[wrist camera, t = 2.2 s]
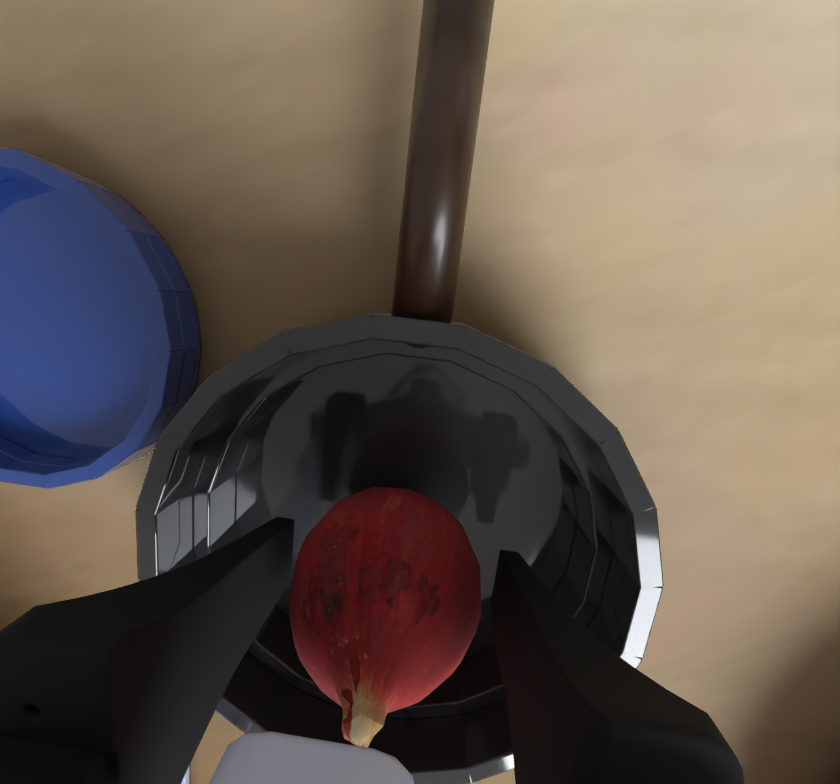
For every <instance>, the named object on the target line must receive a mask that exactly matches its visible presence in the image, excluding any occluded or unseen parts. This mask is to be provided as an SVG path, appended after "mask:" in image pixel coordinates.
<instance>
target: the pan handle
mask: <svg viewBox="0 0 840 784" xmlns="http://www.w3.org/2000/svg"><path fill="white" fill-rule="evenodd" d="M493 7H494V0H423V9H422V19H421V29H420V39H419V49H418V58H417V68H416V78H415V88H414V98H413V107H412V117H411V127H410V137H409V147H408V156H407V166H406V176H405V186H404V196H403V205H402V215H401V225H400V235H399V244H398V254H397V264H396V274H395V284H394V293H393V303H392V313H391V315H395V316H402V317H409V318H417V319H425V320H434V321H444V322H451V320H452V313H453V305H454V298H455V290H456V283H457V275H458V268H459V260H460V253H461V246H462V238H463V231H464V223H465V216H466V208H467V201H468V193H469V186H470V179H471V171H472V164H473V156H474V149H475V141H476V134H477V127H478V119H479V112H480V104H481V97H482V89H483V82H484V74H485V67H486V60H487V52H488V45H489V37H490V30H491V22H492V15H493ZM405 344H406V345H408V346H411V347H413V348H421V349H423V348H429V347H431V346H423V345H415V344H407V343H405Z"/></svg>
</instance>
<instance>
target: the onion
mask: <svg viewBox="0 0 840 784" xmlns="http://www.w3.org/2000/svg"><path fill="white" fill-rule="evenodd" d="M288 604H289V617H290V623H291V628H292V634H293V639H294V644H295V648H296V651H297V654H298V657H299V659H300V661H301V663H302V664H303V666H304V668H305V669H306V671H307V672H308V674H309V675H310V676H311V678H312V679H313V680H314V682H315V683H316V685H317V686H318V687H319V689H320V690H321V691H322V692H323V693H324V694H325V695H327V696H328V697H329V698H331V699H332V700H334V701H335V702H336V703H338V704H339V705H340V706H342V709H343V720H342V732H343V736H344V739H346V740H348V741H350V742H351V743H353V744H354V745H356V746H360V747H366V748H368V746H369V744H370V742H371V740H372V739H373V737H374V736H375V734H376V733H377V732H378V731H379V730H380V729H381V728H382V727H383V726H384V721H385V717H386V715H387V713H390V712H393V711H396V710H399V709H402V708H405V707H408V706H411V705H413V704H415V703H418V702H420V701H421V700H422V699H424V698H425V697H426V696H428V695H429V694H430V693H431V692H432V691H433V690H434V689H436V688H437V687H438V686H439V685H440V684H441V683H442V682H444V681H445V680H446V679H447V678H448V677H449V676H450V675H451V674H453V672H454V671H455V670H456V668H457V667H458V666H459V664H460V663H461V661H462V659H463V657H464V655H465V653H466V651H467V649H468V647H469V645H470V643H471V641H472V639H473V637H474V635H475V633H476V631H477V627H478V624H479V621H480V617H481V581H480V564H479V562H478V560H477V558H476V555H475V553H474V551H473V549H472V546H471V544H470V542H469V539H468V537H467V535H466V532H465V530H464V528H463V525H462V524H461V523H460V522H459V521H458V520H457V519H456V518H455V517H454V516H453V515H452V514H451V513H450V512H449V511H448V510H447V509H446V508H445V507H444V506H443V505H442V504H441V503H439V502H436V501H434V500H432V499H430V498H428V497H426V496H424V495H422V494H419V493H417V492H415V491H413V490H411V489H403V488H389V487H371V488H368V489H366V490H363V491H361V492H358V493H355V494H353V495H350V496H348V497H345V498H343V499H340V500H339V501H338V502H337V503H336V504H335V505H334V506H333V507H332V508H331V509H330V510H329V511H328V513H327V514H326V515H325V516H324V517H323V518H322V519H321V520H320V521H319V522H318V524H317V525H316V526H315V527H314V528H313V529H312V530H311V531H310V532H309V533H308V534H307V536H306V538H305V540H304V542H303V544H302V546H301V548H300V550H299V553H298V556H297V561H296V565H295V569H294V574H293V578H292V583H291V588H290V594H289V599H288Z"/></svg>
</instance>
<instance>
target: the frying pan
mask: <svg viewBox="0 0 840 784" xmlns="http://www.w3.org/2000/svg"><path fill="white" fill-rule="evenodd" d="M405 343H407V344H415V345H423V346H431V347H429V348H423V349H421V348H413V347H411V346H408V345H406V344H405ZM371 487H389V488H403V489H411V490H413V491H415V492H417V493H419V494H422V495H424V496H426V497H428V498H430V499H432V500H434V501H436V502H439V503H441V504H442V505H443V506H444V507H445V508H446V509H447V510H448V511H449V512H450V513H451V514H452V515H453V516H454V517H455V518H456V519H457V520H458V521H459V522H460V523H461V524H462V525H463V528H464V530H465V532H466V535H467V537H468V539H469V542H470V544H471V546H472V549H473V551H474V553H475V555H476V558H477V560H478V562H479V564H480V581H481V617H480V621H479V624H478V627H477V631H476V633H475V635H474V637H473V639H472V641H471V643H470V645H469V647H468V649H467V651H466V653H465V655H464V657H463V659H462V661H461V663H460V664H459V666H458V667H457V668H456V670H455V671H454V672H453V674H451V675H450V676H449V677H448V678H447V679H446V680H445V681H444V682H442V683H441V684H440V685H439V686H438V687H437V688H436V689H434V690H433V691H432V692H431V693H430V694H429V695H428V696H426V697H425V698H424V699H422V700H421V701H420V702H418V703H415V704H413V705H411V706H408V707H405V708H402V709H399V710H396V711H393V712H390V713H387V715H386V717H385V721H384V726H383V727H382V728H381V729H380V730H379V731H378V732H377V733H376V734H375V736H374V737H373V739H372V740H371V742H370V744H369V746H368V748H372V749H376V750H378V751H381V752H383V753H386V754H388V755H391V756H394V757H395V758H396V759H397V760H398V761H399V762H400V763H401V764H402V765H403V766H404V767H405V768H406V769H407V770H408V771H409V773H410V774H411V775H412V776H413V780H414V784H471V783H472V782H477V781H480V780H483V779H485V778H488V777H491V776H494V775H497V774H500V773H503V772H506V771H508V770H511V769H514V759H513V750H512V740H511V730H510V721H509V714H508V708H507V702H506V696H505V691H504V686H503V681H502V676H501V671H500V666H499V661H498V655H497V650H496V645H495V640H494V634H493V625H492V612H491V597H492V592H493V586H494V581H495V575H496V570H497V564H498V559H499V553H500V549H501V550H507V551H514V552H518V553H519V554H520V555H521V556H522V557H523V559H524V560H525V561H526V562H527V564H528V565H529V566H530V568H531V569H532V570H533V571H534V573H535V574H536V575H537V576H538V578H539V579H540V580H541V581H542V582H543V584H544V585H545V586H546V587H547V588H548V590H549V591H550V592H551V593H552V594H553V595H554V596H555V597H556V599H557V600H558V601H559V602H560V603H561V604H562V605H563V606H564V607H565V608H566V609H567V610H568V611H569V612H570V613H571V615H572V616H573V617H574V618H575V619H576V620H578V621H579V622H580V623H581V624H582V625H583V626H584V627H585V628H586V629H587V630H588V631H589V632H591V633H592V634H593V635H594V636H595V637H596V638H597V639H598V640H599V641H601V642H602V643H603V644H604V645H605V646H607V647H608V648H609V649H610V650H612V651H613V652H614V653H616V654H617V655H618V656H619V657H621V658H622V659H623V660H625V661H626V662H627V663H629V664H630V665H631V666H633V667H634V668H635V669H636V667H637V666H638V665H639V663H640V662H641V661H642V658H643V656H644V652H645V649H646V645H647V642H648V638H649V635H650V631H651V628H652V624H653V621H654V617H655V614H656V611H657V607H658V604H659V600H660V597H661V593H662V590H663V575H662V563H661V552H660V541H659V529H658V518H657V508H656V507H655V503H654V501H653V499H652V497H651V495H650V493H649V491H648V489H647V487H646V485H645V483H644V481H643V479H642V476H641V474H640V472H639V470H638V468H637V466H636V464H635V462H634V460H633V458H632V456H631V454H630V452H629V450H628V448H627V446H626V444H625V442H624V439H623V437H622V435H621V433H620V432H619V431H618V428H617V427H616V426H614V425H613V424H612V423H611V422H610V421H609V420H608V419H607V418H606V417H605V416H604V415H603V414H602V413H601V412H600V411H599V410H598V409H597V408H596V407H595V406H594V405H593V404H592V403H591V402H590V401H589V400H588V399H587V398H586V397H585V396H584V395H583V394H582V393H581V392H580V391H578V390H577V389H576V388H575V387H574V386H573V385H572V384H571V383H570V382H569V381H568V380H567V379H566V378H565V377H564V376H563V375H562V374H561V373H560V372H559V371H558V370H557V369H556V368H555V367H553V366H552V365H550V364H548V363H546V362H544V361H542V360H540V359H538V358H536V357H534V356H532V355H530V354H528V353H526V352H524V351H522V350H520V349H518V348H515V347H513V346H511V345H509V344H507V343H505V342H503V341H501V340H499V339H497V338H494V337H492V336H490V335H488V334H486V333H484V332H482V331H480V330H478V329H475V328H473V327H471V326H469V325H467V324H465V323H460V322H459V321H451V322H444V321H434V320H425V319H417V318H409V317H402V316H395V315H391V313H369V314H364V315H359V316H354V317H350V318H345V319H340V320H335V321H330V322H325V323H320V324H315V325H310V326H306V327H301V328H296V329H291V330H286V331H283V332H280V333H278V334H276V335H275V336H273V337H271V338H270V339H268V340H266V341H265V342H263V343H261V344H260V345H258V346H256V347H255V348H253V349H251V350H250V351H248V352H246V353H245V354H243V355H241V356H240V357H238V358H236V359H235V360H233V361H231V362H230V363H228V364H226V365H225V366H223V367H221V368H220V369H218V370H216V371H215V372H213V373H211V374H210V375H209V376H208V377H207V378H206V379H205V380H204V381H203V383H202V384H201V385H200V386H199V388H198V389H197V390H196V391H195V393H194V394H193V395H192V396H191V398H190V399H189V400H188V401H187V403H186V404H185V405H184V406H183V408H182V409H181V410H180V411H179V413H178V414H177V415H176V416H175V418H174V419H173V420H172V421H171V423H170V424H169V425H168V426H167V428H166V429H165V430H164V431H163V433H162V434H161V435H160V437H159V439H158V441H157V444H156V447H155V450H154V453H153V456H152V459H151V462H150V465H149V468H148V472H147V475H146V478H145V481H144V484H143V487H142V490H141V493H140V496H139V499H138V502H137V506H136V508H137V509H136V538H137V565H138V579H139V582H140V581H143V580H145V579H148V578H151V577H154V576H157V575H160V574H163V573H166V572H169V571H171V570H174V569H176V568H179V567H181V566H183V565H186V564H188V563H191V562H193V561H195V560H197V559H199V558H202V557H204V556H206V555H208V554H210V553H212V552H214V551H216V550H218V549H220V548H222V547H223V546H225V545H227V544H229V543H231V542H233V541H235V540H237V539H238V538H240V537H242V536H244V535H246V534H247V533H249V532H251V531H253V530H254V529H256V528H258V527H260V526H261V525H263V524H265V523H267V522H268V521H270V520H272V519H274V518H276V517H282V518H289V519H294V536H293V554H292V571H291V573H290V575H289V578H288V580H287V582H286V584H285V587H284V589H283V591H282V593H281V595H280V597H279V599H278V601H277V602H276V604H275V606H274V607H273V609H272V611H271V612H270V614H269V616H268V617H267V619H266V621H265V622H264V624H263V625H262V627H261V629H260V630H259V632H258V634H257V635H256V637H255V638H254V640H253V642H252V643H251V645H250V646H249V648H248V650H247V651H246V653H245V655H244V656H243V658H242V659H241V661H240V663H239V665H238V666H237V668H236V670H235V672H234V673H233V675H232V677H231V679H230V681H229V683H228V685H227V687H226V689H225V691H224V693H223V695H222V697H221V699H220V701H219V703H218V705H217V707H216V709H215V711H217V712H218V713H219V714H220V715H222V716H223V717H224V718H226V719H227V720H228V721H230V722H231V723H232V724H233V725H235V726H236V727H237V728H239V729H240V730H241V731H242V732H244V733H245V734H247V733H250V732H271V731H272V732H278V733H283V734H289V735H295V736H301V737H307V738H313V739H319V740H325V741H330V742H336V743H342V744H348V745H354V744H353V743H351V742H350V741H348V740H346V739H344V736H343V732H342V720H343V709H342V706H340V705H339V704H338V703H336V702H335V701H334V700H332V699H331V698H329V697H328V696H327V695H325V694H324V693H323V692H322V691H321V690H320V689H319V687H318V686H317V685H316V683H315V682H314V680H313V679H312V678H311V676H310V675H309V674H308V672H307V671H306V669H305V668H304V666H303V664H302V663H301V661H300V659H299V657H298V654H297V651H296V648H295V644H294V639H293V634H292V628H291V623H290V617H289V604H288V599H289V594H290V588H291V583H292V578H293V574H294V569H295V565H296V561H297V556H298V553H299V550H300V548H301V546H302V544H303V542H304V540H305V538H306V536H307V534H308V533H309V532H310V531H311V530H312V529H313V528H314V527H315V526H316V525H317V524H318V522H319V521H320V520H321V519H322V518H323V517H324V516H325V515H326V514H327V513H328V511H329V510H330V509H331V508H332V507H333V506H334V505H335V504H336V503H337V502H338V501H339V500H340V499H343V498H345V497H348V496H350V495H353V494H355V493H358V492H361V491H363V490H366V489H368V488H371ZM354 746H356V745H354Z"/></svg>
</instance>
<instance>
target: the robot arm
mask: <svg viewBox="0 0 840 784" xmlns="http://www.w3.org/2000/svg"><path fill="white" fill-rule="evenodd" d="M293 536H294V519H289V518H282V517H276V518H274V519H272V520H270V521H268V522H267V523H265V524H263V525H261V526H260V527H258V528H256V529H254V530H253V531H251V532H249V533H247V534H246V535H244V536H242V537H240V538H238V539H237V540H235V541H233V542H231V543H229V544H227V545H225V546H223V547H222V548H220V549H218V550H216V551H214V552H212V553H210V554H208V555H206V556H204V557H202V558H199V559H197V560H195V561H193V562H191V563H188V564H186V565H183V566H181V567H179V568H176V569H174V570H171V571H169V572H166V573H163V574H160V575H157V576H154V577H151V578H148V579H145V580H143V581H140V582H137V583H134V584H130V585H127V586H123V587H120V588H116V589H113V590H109V591H105V592H101V593H97V594H93V595H89V596H85V597H80V598H75V599H70V600H65V601H60V602H55V603H50V604H44V605H38V606H35V607H33V608H32V609H30V610H29V611H28V612H26V613H25V614H23V615H22V616H21V617H19V618H18V619H16V620H15V621H14V622H12V623H11V624H9V625H8V626H7V627H5V628H4V629H2V630H1V631H0V784H189V765H190V763H191V760H192V758H193V756H194V754H195V752H196V749H197V747H198V745H199V743H200V741H201V739H202V737H203V735H204V732H205V730H206V728H207V726H208V724H209V722H210V720H211V718H212V716H213V714H214V712H215V709H216V707H217V705H218V703H219V701H220V699H221V697H222V695H223V693H224V691H225V689H226V687H227V685H228V683H229V681H230V679H231V677H232V675H233V673H234V672H235V670H236V668H237V666H238V665H239V663H240V661H241V659H242V658H243V656H244V655H245V653H246V651H247V650H248V648H249V646H250V645H251V643H252V642H253V640H254V638H255V637H256V635H257V634H258V632H259V630H260V629H261V627H262V625H263V624H264V622H265V621H266V619H267V617H268V616H269V614H270V612H271V611H272V609H273V607H274V606H275V604H276V602H277V601H278V599H279V597H280V595H281V593H282V591H283V589H284V587H285V584H286V582H287V580H288V578H289V575H290V573H291V571H292V554H293ZM491 612H492V625H493V634H494V640H495V645H496V650H497V655H498V661H499V666H500V671H501V676H502V681H503V686H504V691H505V696H506V702H507V708H508V714H509V721H510V730H511V740H512V750H513V759H514V770H515V781H516V784H744V782H745V781H744V774H743V768H742V766H741V764H740V763H739V761H738V759H737V757H736V755H735V754H734V752H733V751H732V749H731V748H730V746H729V745H728V743H727V741H726V740H725V738H724V737H723V735H722V734H721V732H720V731H719V729H718V728H717V726H716V725H715V723H714V722H713V720H712V719H711V718H710V716H709V715H708V713H706V712H704V711H702V710H701V709H699V708H697V707H696V706H694V705H692V704H690V703H689V702H687V701H685V700H684V699H682V698H680V697H679V696H677V695H675V694H673V693H672V692H670V691H668V690H667V689H665V688H664V687H662V686H661V685H659V684H658V683H656V682H655V681H653V680H652V679H650V678H649V677H647V676H646V675H644V674H643V673H641V672H640V671H638V670H637V669H635V668H634V667H633V666H631V665H630V664H629V663H627V662H626V661H625V660H623V659H622V658H621V657H619V656H618V655H617V654H616V653H614V652H613V651H612V650H610V649H609V648H608V647H607V646H605V645H604V644H603V643H602V642H601V641H599V640H598V639H597V638H596V637H595V636H594V635H593V634H592V633H591V632H589V631H588V630H587V629H586V628H585V627H584V626H583V625H582V624H581V623H580V622H579V621H578V620H576V619H575V618H574V617H573V616H572V615H571V613H570V612H569V611H568V610H567V609H566V608H565V607H564V606H563V605H562V604H561V603H560V602H559V601H558V600H557V599H556V597H555V596H554V595H553V594H552V593H551V592H550V591H549V590H548V588H547V587H546V586H545V585H544V584H543V582H542V581H541V580H540V579H539V578H538V576H537V575H536V574H535V573H534V571H533V570H532V569H531V568H530V566H529V565H528V564H527V562H526V561H525V560H524V559H523V557H522V556H521V555H520V554H519V553H518V552H514V551H507V550H501V549H500V553H499V559H498V564H497V570H496V575H495V581H494V586H493V592H492V597H491ZM209 784H414V780H413V776H412V775H411V774H410V773H409V771H408V770H407V769H406V768H405V767H404V766H403V765H402V764H401V763H400V762H399V761H398V760H397V759H396V758H395V757H394V756H391V755H388V754H386V753H383V752H381V751H378V750H376V749H372V748H366V747H360V746H354V745H348V744H342V743H336V742H330V741H325V740H319V739H313V738H307V737H301V736H295V735H289V734H283V733H278V732H272V731H271V732H250V733H247V734H245V735H243V736H242V737H240V738H238V739H237V740H235V741H234V742H232V743H230V744H229V745H228V747H227V749H226V751H225V753H224V755H223V757H222V759H221V761H220V763H219V765H218V767H217V769H216V771H215V773H214V775H213V777H212V779H211V781H210V783H209Z"/></svg>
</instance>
